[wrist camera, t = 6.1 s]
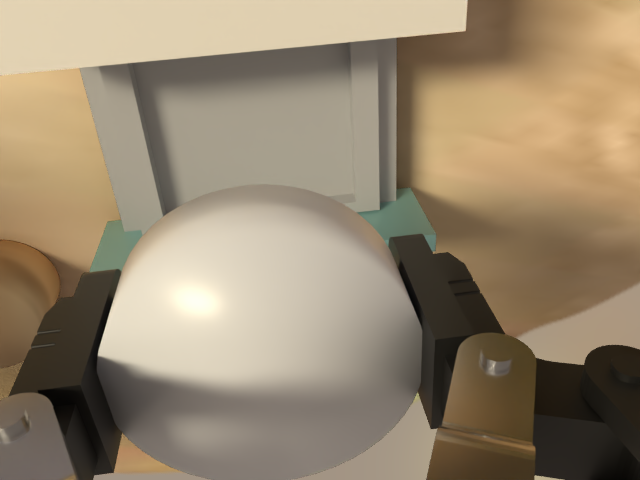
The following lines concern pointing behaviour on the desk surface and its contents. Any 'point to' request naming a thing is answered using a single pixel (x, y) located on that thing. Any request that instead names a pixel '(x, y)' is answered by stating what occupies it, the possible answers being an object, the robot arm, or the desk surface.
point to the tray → (251, 134)
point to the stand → (23, 298)
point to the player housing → (200, 28)
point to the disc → (259, 337)
